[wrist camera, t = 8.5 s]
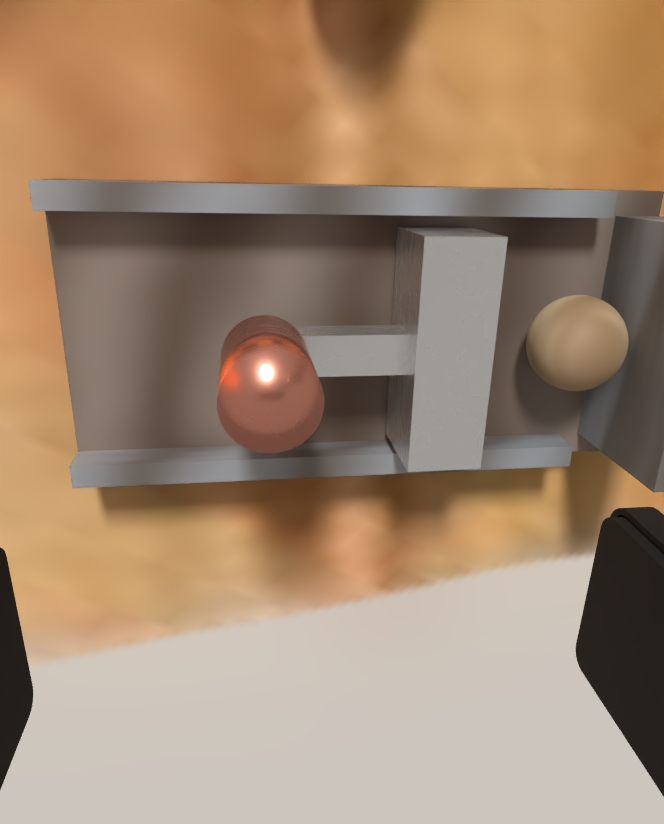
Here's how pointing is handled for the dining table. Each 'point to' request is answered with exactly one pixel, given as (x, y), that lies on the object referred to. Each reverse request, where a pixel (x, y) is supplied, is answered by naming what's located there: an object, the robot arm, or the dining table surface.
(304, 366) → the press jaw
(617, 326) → the nut press
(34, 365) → the dining table surface
